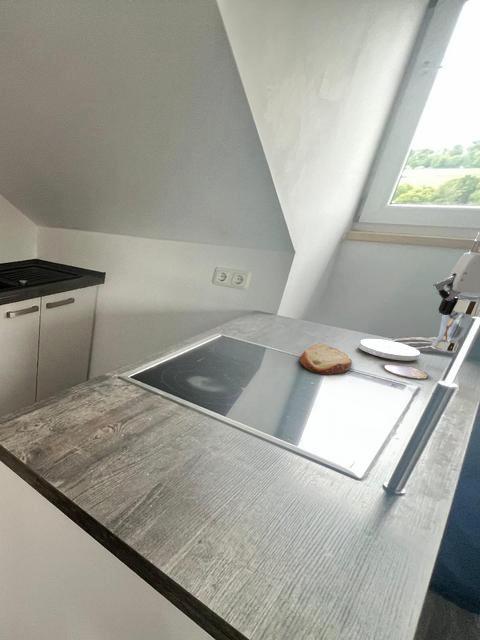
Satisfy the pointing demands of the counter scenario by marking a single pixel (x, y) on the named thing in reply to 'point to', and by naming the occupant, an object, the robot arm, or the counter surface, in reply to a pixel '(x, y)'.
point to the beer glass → (456, 322)
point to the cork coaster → (405, 371)
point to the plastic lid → (389, 349)
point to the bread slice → (325, 360)
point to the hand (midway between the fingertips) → (462, 314)
